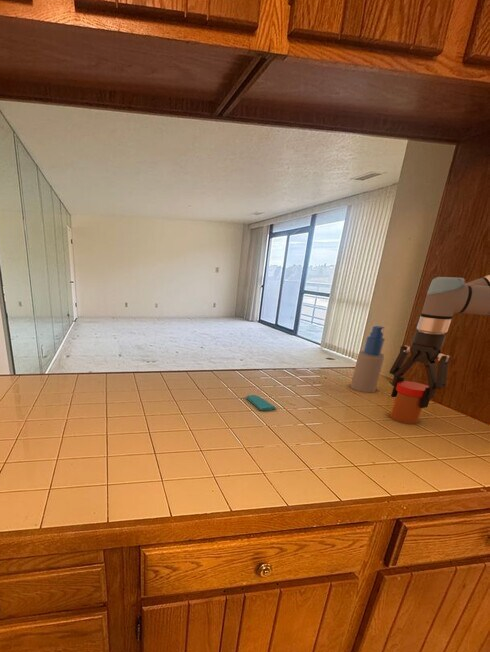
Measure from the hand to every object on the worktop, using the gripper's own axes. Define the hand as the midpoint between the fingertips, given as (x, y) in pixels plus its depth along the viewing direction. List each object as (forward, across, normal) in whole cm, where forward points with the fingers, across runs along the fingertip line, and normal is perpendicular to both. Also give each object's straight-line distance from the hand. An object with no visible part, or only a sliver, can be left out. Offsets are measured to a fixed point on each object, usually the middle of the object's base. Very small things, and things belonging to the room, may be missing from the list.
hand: (408, 401), depth 112 cm
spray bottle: (+6, +26, -12) cm, 29 cm away
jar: (+6, 0, 0) cm, 6 cm away
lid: (-5, 0, 0) cm, 5 cm away
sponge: (+7, +26, +38) cm, 46 cm away
